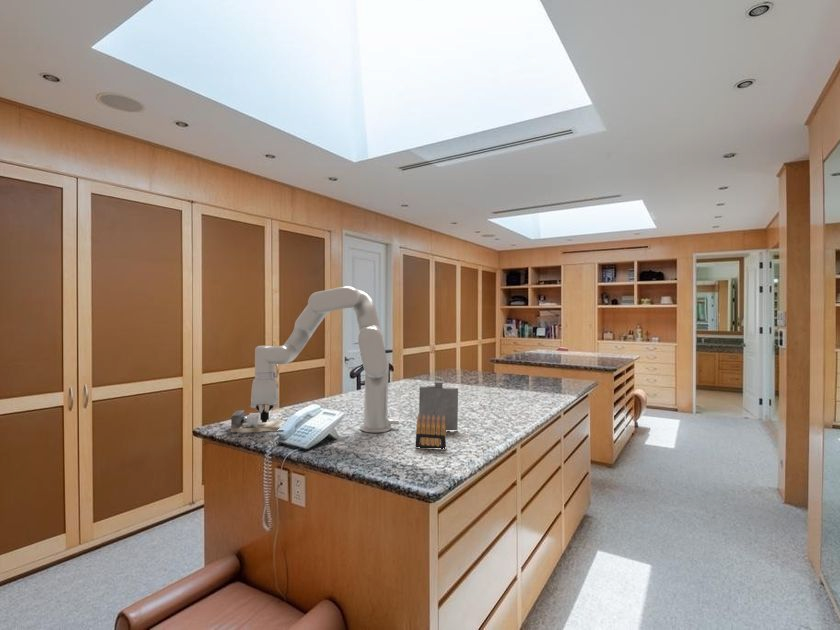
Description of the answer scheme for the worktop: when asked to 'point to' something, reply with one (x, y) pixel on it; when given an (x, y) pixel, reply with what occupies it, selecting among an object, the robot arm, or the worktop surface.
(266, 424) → the gauge base
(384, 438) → the worktop surface
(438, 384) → the hip flask
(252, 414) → the gauge carriage
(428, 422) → the ammunition clip
